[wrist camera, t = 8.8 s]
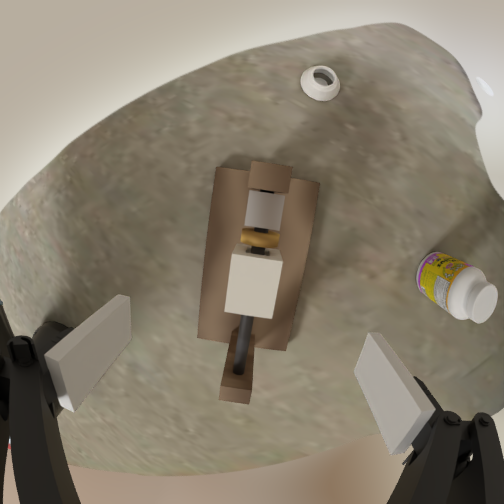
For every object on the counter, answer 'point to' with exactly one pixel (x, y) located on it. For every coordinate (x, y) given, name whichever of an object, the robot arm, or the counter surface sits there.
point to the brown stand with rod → (259, 237)
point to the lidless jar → (320, 83)
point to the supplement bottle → (457, 287)
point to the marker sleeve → (253, 282)
